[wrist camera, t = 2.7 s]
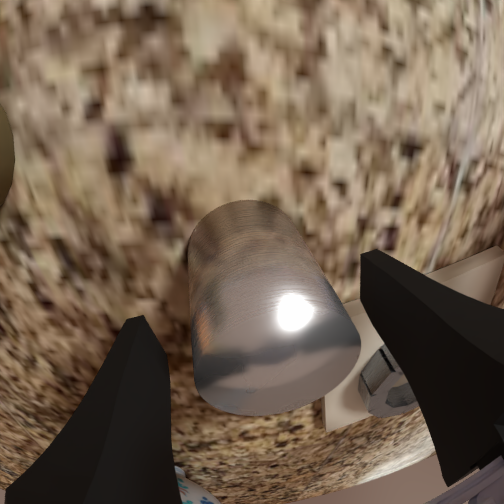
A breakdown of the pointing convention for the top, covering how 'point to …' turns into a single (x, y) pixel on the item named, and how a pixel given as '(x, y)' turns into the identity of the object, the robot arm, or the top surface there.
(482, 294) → the birch board
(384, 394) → the ring collar
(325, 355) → the cylinder
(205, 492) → the chinaware
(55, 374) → the top surface
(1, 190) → the cork
